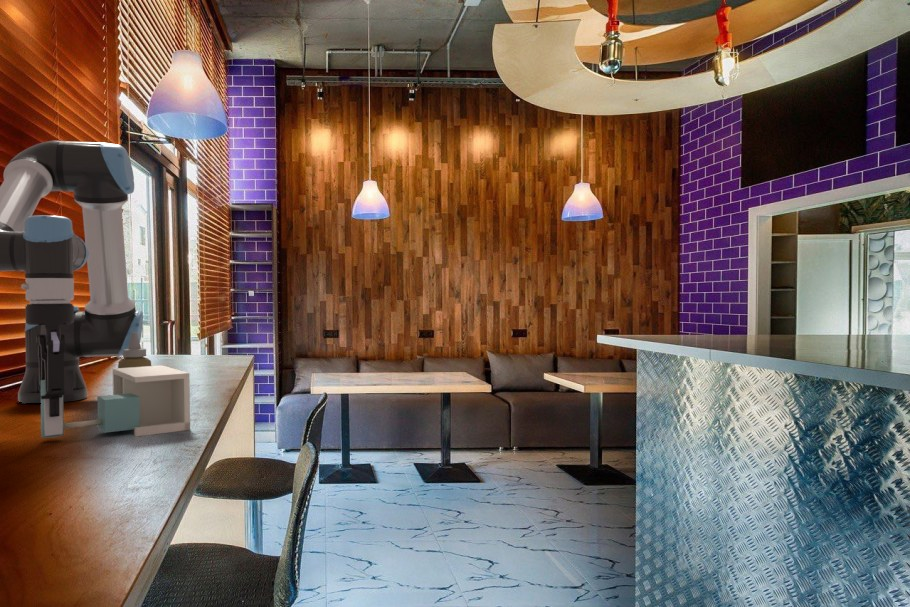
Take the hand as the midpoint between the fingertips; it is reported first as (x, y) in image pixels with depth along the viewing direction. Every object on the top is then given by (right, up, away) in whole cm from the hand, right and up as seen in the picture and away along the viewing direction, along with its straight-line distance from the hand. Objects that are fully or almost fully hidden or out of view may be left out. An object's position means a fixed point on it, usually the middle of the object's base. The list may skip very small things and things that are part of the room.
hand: (51, 432), depth 125 cm
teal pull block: (+5, -1, +4) cm, 6 cm away
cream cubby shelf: (+11, -1, +14) cm, 18 cm away
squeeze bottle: (+2, -1, +28) cm, 28 cm away
